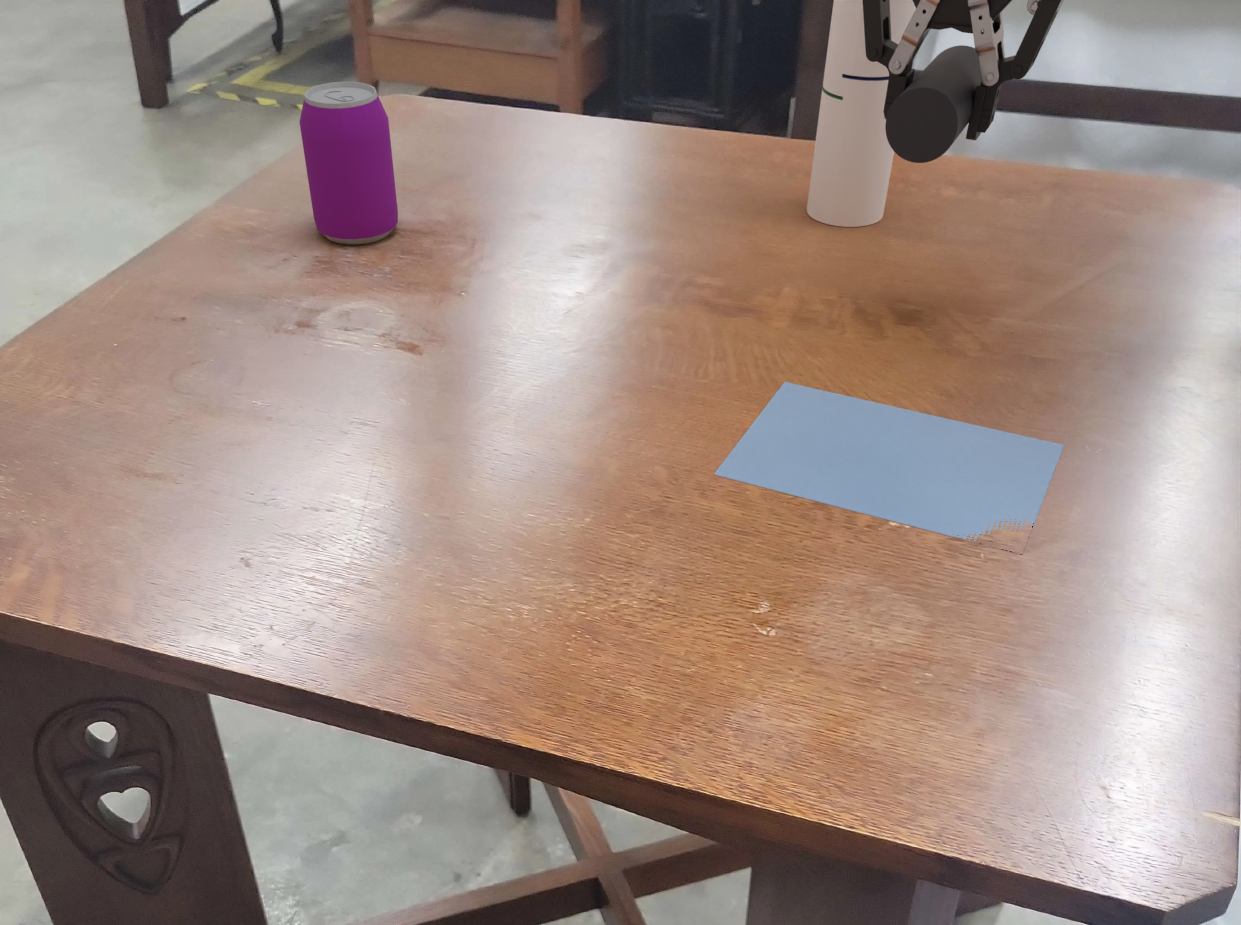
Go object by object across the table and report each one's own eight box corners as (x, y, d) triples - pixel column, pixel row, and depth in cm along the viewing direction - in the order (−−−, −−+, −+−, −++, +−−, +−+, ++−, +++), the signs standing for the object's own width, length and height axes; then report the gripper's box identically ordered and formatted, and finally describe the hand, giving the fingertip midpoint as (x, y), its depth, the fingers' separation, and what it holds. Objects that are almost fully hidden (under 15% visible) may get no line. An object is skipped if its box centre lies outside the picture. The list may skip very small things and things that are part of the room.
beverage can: (416, 231, 109) (403, 92, 101) (347, 255, 106) (328, 112, 98) (367, 208, 114) (351, 73, 106) (300, 230, 110) (277, 92, 102)
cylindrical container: (867, 232, 108) (920, -89, 91) (794, 217, 111) (833, -97, 94) (894, 206, 113) (949, -104, 96) (824, 192, 116) (865, -112, 99)
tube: (925, 119, 92) (924, 49, 89) (992, 113, 90) (993, 41, 87) (886, 165, 85) (883, 91, 82) (958, 160, 83) (957, 83, 80)
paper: (1063, 447, 81) (1064, 444, 81) (1021, 557, 72) (1022, 554, 71) (784, 384, 88) (784, 381, 87) (713, 476, 78) (713, 474, 78)
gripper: (1114, -150, 76) (1044, 130, 87) (893, -163, 81) (854, 104, 92) (1096, -131, 71) (1023, 162, 82) (861, -146, 76) (824, 133, 87)
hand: (934, 130), depth 87 cm, fingers closed on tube, 5 cm apart
